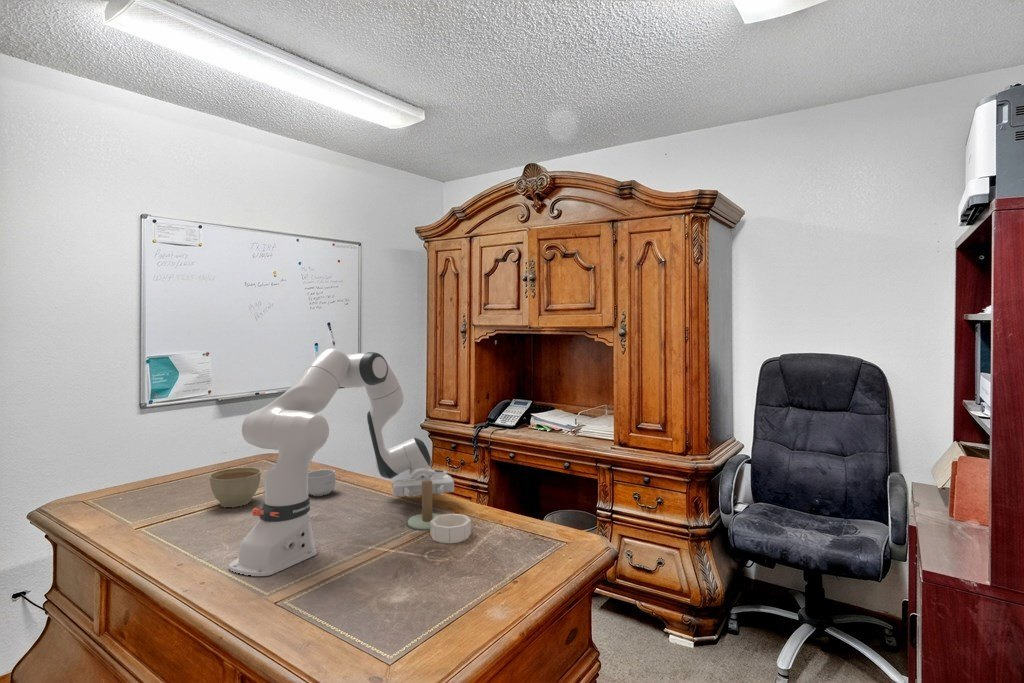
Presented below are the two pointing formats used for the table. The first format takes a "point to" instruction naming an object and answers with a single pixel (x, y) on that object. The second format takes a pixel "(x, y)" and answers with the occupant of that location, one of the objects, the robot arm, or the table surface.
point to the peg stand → (424, 509)
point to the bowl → (450, 528)
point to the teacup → (321, 482)
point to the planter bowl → (235, 485)
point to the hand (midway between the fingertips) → (425, 493)
